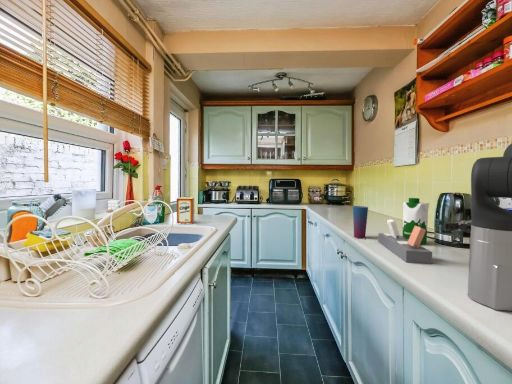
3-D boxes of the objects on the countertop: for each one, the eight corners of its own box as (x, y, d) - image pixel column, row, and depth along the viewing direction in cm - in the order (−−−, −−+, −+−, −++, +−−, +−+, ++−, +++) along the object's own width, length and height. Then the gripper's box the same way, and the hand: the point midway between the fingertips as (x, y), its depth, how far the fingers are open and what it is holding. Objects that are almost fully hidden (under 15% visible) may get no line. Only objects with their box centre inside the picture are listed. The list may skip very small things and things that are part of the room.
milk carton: (399, 241, 113) (400, 197, 112) (408, 239, 118) (410, 197, 117) (420, 246, 106) (422, 199, 105) (429, 243, 111) (431, 198, 110)
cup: (368, 239, 117) (369, 207, 116) (353, 238, 118) (354, 207, 118) (365, 236, 124) (366, 206, 123) (350, 235, 125) (351, 205, 124)
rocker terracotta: (417, 248, 86) (426, 229, 86) (412, 246, 87) (421, 227, 86) (411, 245, 91) (419, 227, 90) (406, 243, 91) (414, 225, 90)
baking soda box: (194, 221, 161) (194, 197, 160) (192, 223, 154) (192, 197, 154) (179, 222, 160) (179, 197, 159) (176, 223, 154) (176, 197, 153)
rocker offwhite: (400, 237, 100) (394, 220, 100) (396, 238, 100) (390, 222, 100) (396, 235, 104) (390, 219, 104) (391, 236, 105) (386, 220, 105)
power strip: (431, 263, 83) (432, 251, 83) (405, 262, 84) (406, 249, 84) (390, 238, 118) (391, 229, 118) (373, 238, 119) (373, 229, 119)
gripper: (486, 213, 91) (434, 212, 93) (518, 219, 78) (457, 218, 80) (485, 233, 91) (433, 232, 94) (517, 243, 78) (456, 241, 81)
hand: (444, 225), depth 87 cm, fingers closed
